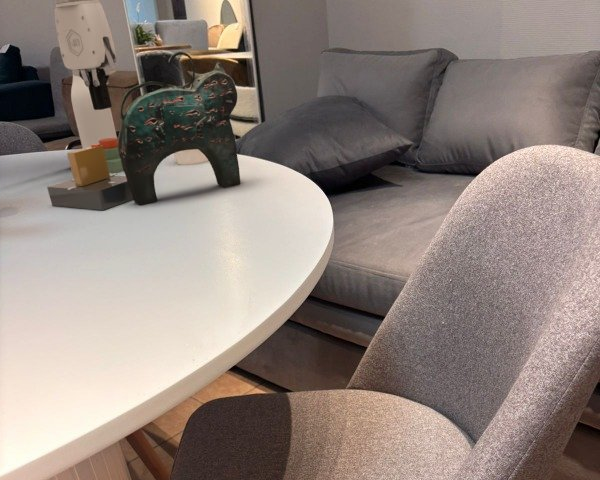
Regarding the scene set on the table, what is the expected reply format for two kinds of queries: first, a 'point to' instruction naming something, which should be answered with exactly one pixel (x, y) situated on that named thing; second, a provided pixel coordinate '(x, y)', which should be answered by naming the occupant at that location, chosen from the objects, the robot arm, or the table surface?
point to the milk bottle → (90, 116)
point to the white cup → (190, 157)
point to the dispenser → (113, 160)
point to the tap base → (91, 193)
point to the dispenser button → (109, 143)
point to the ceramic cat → (179, 129)
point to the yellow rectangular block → (88, 165)
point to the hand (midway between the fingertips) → (103, 108)
